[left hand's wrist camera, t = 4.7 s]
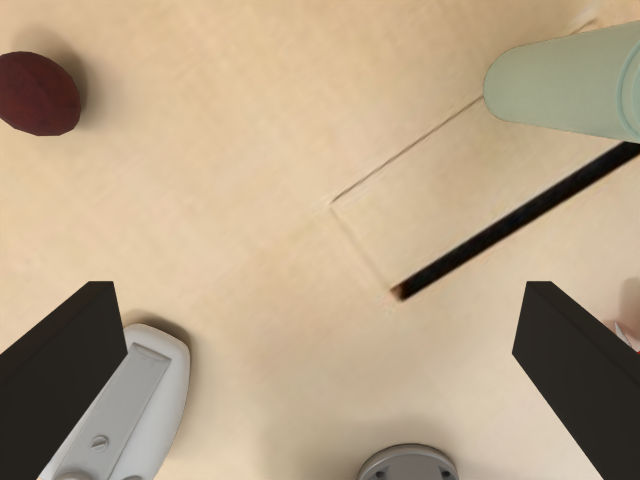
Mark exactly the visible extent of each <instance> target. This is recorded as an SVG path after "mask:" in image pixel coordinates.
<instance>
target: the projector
mask: <svg viewBox="0 0 640 480" xmlns="http://www.w3.org/2000/svg"><path fill="white" fill-rule="evenodd" d="M123 331H124V336H125V341H126V345H127V350H128V355H127V356H126V357H125V359H124V360H123V361H122V363H121V364H120V366H119V367H118V368H117V370H116V371H115V372H114V374H113V375H112V376H111V378H110V379H109V381H108V382H107V383H106V385H105V386H104V387H103V389H102V390H101V392H100V393H99V394H98V396H97V397H96V398H95V400H94V401H93V403H92V404H91V405H90V407H89V408H88V409H87V411H86V412H85V414H84V415H83V416H82V418H81V419H80V420H79V422H78V423H77V424H76V426H75V427H74V429H73V430H72V431H71V433H70V434H69V435H68V437H67V438H66V440H65V441H64V442H63V444H62V445H61V446H60V448H59V449H58V451H57V452H56V453H55V455H54V456H53V457H52V459H51V460H50V462H49V463H48V464H47V466H46V467H45V468H44V470H43V471H42V473H41V474H40V475H39V477H40V478H41V479H42V480H153V479H154V477H155V476H156V474H157V472H158V471H159V469H160V467H161V465H162V464H163V462H164V460H165V458H166V456H167V454H168V452H169V449H170V447H171V445H172V443H173V440H174V438H175V436H176V433H177V430H178V428H179V425H180V422H181V418H182V415H183V412H184V407H185V403H186V398H187V393H188V386H189V376H190V353H189V349H188V347H187V346H186V345H185V344H184V343H183V342H182V341H180V340H178V339H176V338H175V337H173V336H171V335H169V334H167V333H165V332H163V331H161V330H158V329H156V328H153V327H151V326H148V325H145V324H140V323H135V324H132V325H129V326H127V327H126V328H124V329H123Z"/></svg>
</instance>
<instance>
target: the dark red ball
mask: <svg viewBox="0 0 640 480" xmlns="http://www.w3.org/2000/svg"><path fill="white" fill-rule="evenodd" d="M80 111H81V105H80V98H79V92H78V90H77V88H76V86H75V84H74V82H73V79H72V77H71V76H70V75H69V74H68V73H67V72H66V71H65V70H64V69H63V68H62V67H60V66H59V65H58V64H56V63H55V62H53V61H52V60H50V59H49V58H46V57H44V56H41V55H39V54H35V53H32V52H22V51H19V52H11V53H7V54H3V55H1V56H0V118H1V119H2V120H4V121H5V122H6V123H8V124H9V125H10V126H12V127H13V128H14V129H17V130H21V131H24V132H27V133H30V134H33V135H36V136H59V135H62V134H64V133H66V132H69V131H71V130H72V129H74V127H75V126H76V124H77V123H78V121H79V118H80Z"/></svg>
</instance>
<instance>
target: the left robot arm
mask: <svg viewBox="0 0 640 480" xmlns="http://www.w3.org/2000/svg"><path fill="white" fill-rule="evenodd" d="M127 355H128V350H127V345H126V341H125V336H124V331H123V326H122V321H121V317H120V312H119V307H118V302H117V297H116V293H115V288H114V283H113V281H89V282H87V283H86V284H85V285H84V286H83V287H81V288H80V289H79V290H78V291H77V292H75V293H74V294H73V295H72V296H71V297H69V298H68V299H67V300H66V301H64V302H63V303H62V304H61V305H60V306H58V307H57V308H56V309H55V310H54V311H52V312H51V313H50V314H49V315H48V316H46V317H45V318H44V319H43V320H41V321H40V322H39V323H38V324H37V325H35V326H34V327H33V328H32V329H31V330H29V331H28V332H27V333H26V334H25V335H23V336H22V337H21V338H20V339H18V340H17V341H16V342H15V343H14V344H12V345H11V346H10V347H9V348H8V349H6V350H5V351H4V352H3V353H2V354H0V480H36V479H37V478H38V477H39V475H40V474H41V473H42V471H43V470H44V468H45V467H46V466H47V464H48V463H49V462H50V460H51V459H52V457H53V456H54V455H55V453H56V452H57V451H58V449H59V448H60V446H61V445H62V444H63V442H64V441H65V440H66V438H67V437H68V435H69V434H70V433H71V431H72V430H73V429H74V427H75V426H76V424H77V423H78V422H79V420H80V419H81V418H82V416H83V415H84V414H85V412H86V411H87V409H88V408H89V407H90V405H91V404H92V403H93V401H94V400H95V398H96V397H97V396H98V394H99V393H100V392H101V390H102V389H103V387H104V386H105V385H106V383H107V382H108V381H109V379H110V378H111V376H112V375H113V374H114V372H115V371H116V370H117V368H118V367H119V366H120V364H121V363H122V361H123V360H124V359H125V357H126V356H127ZM512 355H513V356H514V357H515V359H516V360H517V361H518V363H519V364H520V366H521V367H522V368H523V370H524V371H525V372H526V374H527V375H528V376H529V378H530V379H531V381H532V382H533V383H534V385H535V386H536V387H537V389H538V390H539V392H540V393H541V394H542V396H543V397H544V398H545V400H546V401H547V403H548V404H549V405H550V407H551V408H552V409H553V411H554V412H555V414H556V415H557V416H558V418H559V419H560V420H561V422H562V423H563V424H564V426H565V427H566V429H567V430H568V431H569V433H570V434H571V435H572V437H573V438H574V440H575V441H576V442H577V444H578V445H579V446H580V448H581V449H582V451H583V452H584V453H585V455H586V456H587V457H588V459H589V460H590V462H591V463H592V464H593V466H594V467H595V468H596V470H597V471H598V473H599V474H600V475H601V477H602V478H603V479H604V480H640V354H638V353H637V352H636V351H635V350H634V349H632V348H631V347H630V346H629V345H628V344H626V343H625V342H624V341H623V340H622V339H620V338H619V337H618V336H617V335H615V334H614V333H613V332H612V331H611V330H609V329H608V328H607V327H606V326H605V325H603V324H602V323H601V322H600V321H599V320H597V319H596V318H595V317H594V316H592V315H591V314H590V313H589V312H588V311H586V310H585V309H584V308H583V307H582V306H580V305H579V304H578V303H577V302H576V301H574V300H573V299H572V298H571V297H569V296H568V295H567V294H566V293H565V292H563V291H562V290H561V289H560V288H559V287H557V286H556V285H555V284H554V283H553V282H551V281H527V283H526V288H525V293H524V297H523V302H522V307H521V312H520V317H519V321H518V326H517V331H516V336H515V341H514V345H513V350H512ZM357 480H459V478H458V475H457V472H456V469H455V467H454V465H453V463H452V462H451V461H450V459H449V458H448V457H447V456H445V455H444V454H443V453H441V452H440V451H438V450H436V449H433V448H430V447H427V446H422V445H399V446H394V447H391V448H388V449H385V450H383V451H381V452H379V453H377V454H375V455H374V456H372V457H371V458H370V459H369V460H368V461H367V462H366V463H365V464H364V465H363V467H362V468H361V470H360V472H359V474H358V478H357Z"/></svg>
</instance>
